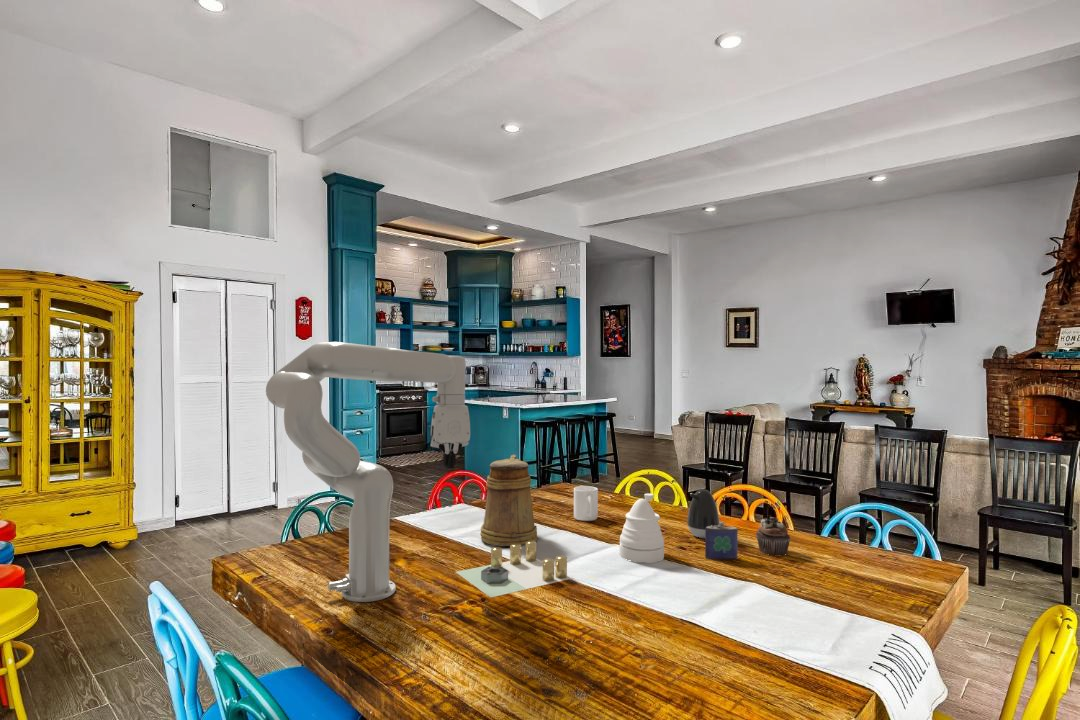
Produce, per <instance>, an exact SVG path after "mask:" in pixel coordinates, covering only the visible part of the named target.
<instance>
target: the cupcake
mask: <svg viewBox="0 0 1080 720" xmlns="http://www.w3.org/2000/svg"><path fill="white" fill-rule="evenodd" d="M760 524H761V525H759V526H758V527H759V528H758V530H756V532H755V536H756V540H757V544H758V551H759V550H760V551H759V552H760V553H761V552H762V554H763V553H764V555H766V554H769V555H768V556H771V555H784V556H786V555H787V554H788V551H789V545H790V542H791V536H790V535H789V532H788V530H787V528H786V526H784V523H783V522H781V521H779V518H777V517H776V518H775V517H773V518H769V517H763V518H762V519H761V520H760ZM785 554H786V555H785Z"/></svg>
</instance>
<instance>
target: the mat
mask: <svg viewBox="0 0 1080 720" xmlns="http://www.w3.org/2000/svg"><path fill="white" fill-rule="evenodd" d="M487 567H491V564H488V565H484V566H483V565H482V566H479V567H473V568H468V569H463V570H459V571H458V570H457V571H455V574H457V575H459V576H460V577H461V578H463V579H464V580H466V581H467V582H469V583H470V584H471V585H472V586H474V587H475V588H477V589H478V590H480V591H481V592H482V593H483V594H485V595H486V596H488V597H489V598H495V597H499V596H504V595H508V594H512V593H516V592H521V591H525V590H529V589H532V588H533V589H534V588H538V587H542V586H546V585H551V584H555V583H559V582H562V581H563V582H564V581H568V580H572V579H573V577H572V576H570V575H568V574H567V577H566V578H564V579H559V578H556V577H555V567H554V581H551V582H546V581H543V580H542V576H543V560H540V559H538V558H536V561H534V562H528V561H526V557H521V564H520V565H511V564H510V560H507V561H502V567H503V568H505V569H506V570H508V580H506V581H505V582H503V583H502V584H487V583H485V582H484V581H482V580H481V571H482V570H484V569H486V568H487Z"/></svg>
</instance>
